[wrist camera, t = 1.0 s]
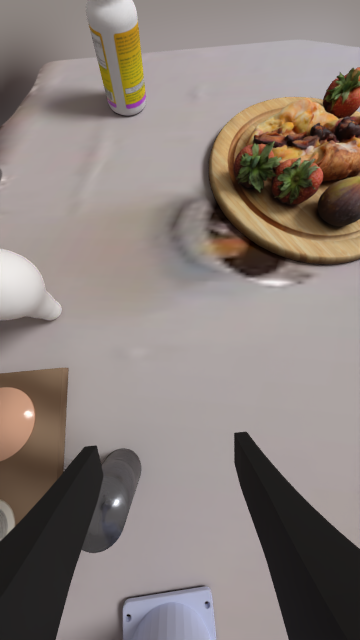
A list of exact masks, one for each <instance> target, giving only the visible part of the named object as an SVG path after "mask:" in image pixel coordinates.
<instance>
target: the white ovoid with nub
mask: <svg viewBox="0 0 360 640" xmlns="http://www.w3.org/2000/svg"><path fill="white" fill-rule="evenodd" d="M61 311H62V307H61V305H60V304H59V303H58V302H57V301H56V300H54V298H53V297H52V295H50V294H49V293H48V292H47V291H46V289H45V284H44V280H43V277H42V275H41V273H40V272H39V270H38V269H37V268H36V266H35V265H34V264H33V263H32V262H30V261H29V260H28V259H26V258H25V257H23V256H21V255H19V254H17V253H15V252H12V251H9V250H5V249H0V320H13V319H17V318H21V317H24V316H29V317H33V318H41V319H44V320H54V319H56V318H57V317H59V315H60V314H61Z"/></svg>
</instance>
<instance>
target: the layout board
mask: <svg viewBox="0 0 360 640" xmlns="http://www.w3.org/2000/svg"><path fill="white" fill-rule="evenodd" d="M67 387H68V368H55V369H44V370H33V371H23V372H12V373H1V374H0V541H1V540H2V539H3V538H4V537H5V536H6V535H7V534H8V533H9V532H10V531H11V530H12V529H13V528H14V527H15V526H16V525H17V524H18V523H19V522H20V521H21V520H22V519H23V517H24V516H25V515H26V514H27V513H28V512H29V511H30V510H31V509H32V508H33V507H34V505H35V504H36V503H37V502H38V501H39V500H40V499H41V498H42V497H43V495H44V494H45V493H46V492H47V491H48V490H49V489H50V487H51V486H52V485H53V484H54V483H55V482H56V480H57V479H58V478H59V477H60V476H61V475H62V473H63V467H64V447H65V427H66V407H67Z"/></svg>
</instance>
